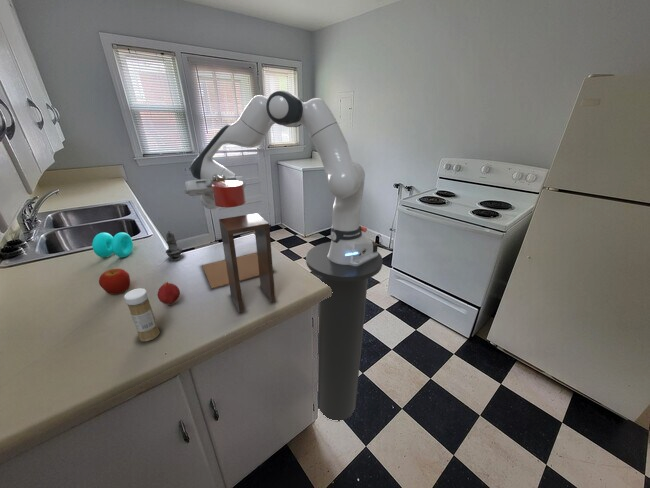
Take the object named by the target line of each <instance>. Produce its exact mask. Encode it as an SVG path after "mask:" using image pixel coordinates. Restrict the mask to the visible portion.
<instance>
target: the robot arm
mask: <svg viewBox="0 0 650 488" xmlns="http://www.w3.org/2000/svg"><path fill="white" fill-rule="evenodd" d="M274 124H277V125H279V126H283V127H285V128H298V127H300V126H303V127H304V129H305V130H306V132H307V135H308V136H309V138H310V140H311V142H312V143H313V145H314V147H315V150H316V152H317V154H318V156H319V158H320V160H321V163H322V166H323V171H324V172H325V177H326V179H327V182H328V185H327V186H328V189H329V192H330V193H331V194H332V195H333V196H334V201H333V205H332V216H331V217H332V218H331V219H332V220H331V223H332V224H331V226H330V240H331V241H330V242H331V245H330V250H329V253H328V259H329V260H330V261H332V262H334V263H337V264H342V265H351V266H359V265H361V264H363V263H365V262H367V261H369V260H371V259H373V258H375V257H377V256H378V253H379V251H378V249H379V247H378V244H377V243H376V242H375V241H372V240H371V239H370V238H368V237H367V236H366V235H365V234H363V233H367V231H368V228H367V227H365V226H361V225H360V222H361V221H360V220H361V207H362V203H363V202H362V201H363V195H364V187H365V180H366V173H365V172H366V171H365V169H364V167H363V166H362V165H361V164H360V163H358V162H355V161H353V159H352V156H351V152H350V150H349V144H348V142H347V140H346V137H345V135H344V134H343V132H342V129H341V127H340V125H339V123H338V121H337V119H336V117H335V115H334V113H333V112H332V110H331V109H330V107H329V105H328V104H327V103H326V102H325V100H324V99H322V98H320V97H313V98H311V99H309V100H307V101H304V100H303V99H302V98H300V97H299V96H297V95H296V94H295V93H292V92H289V91H286V90H276V91H274V92H272V93H271V94H270V95H269V96H268V97H267V96H265V95H262V94H257V95H255V96H253V97H252V98H251V100H249V102H248V103H247V105H246V106H245V108H244V109H243V111H242V112H241V114H240V116H239V117H238V119H237V120H236V121H235V122H234V123H232V124H230V123H226V124H225V125H224V126H222V127H221V128H220V129H219V131H217V133H216V134H215V135H214V136H213V137H212V139H211V140H210V141H209V143H207V145H206V146H205V148H204V149H203V150H202V151H201V153H199V154H198V155H197V156H196V157H195V158H194V159H193V160H192V161H191V164H190V167H189V170H190V173H191V175H192V177H193V178H195V179H193V180H192V179H190V180H186V181H185V182H184V187H185V189H184V194H186V195H188V196H189V197H198V196H200V197H199V199H200V203H201V205H202V206H203V207H204V208H206V209H207V210H216V209H218V208H219V207H218V206H216V205H215V202H214V196H213V190H212V184H213V183H216V180H215V176H213V175H214V174H218V175H220V176H221V177H222V178H224V179H225V180H226V181H241V182H243V185H244V189H245V188H246V186H247V183H246V179H245V176H243V175H238V176H237V173H234V172H233V171H232V170H230V169H228V168H227V167H225V166H224V165H222V164H220V163H218V162H217V161H216V160H214V159H213V157H214V156H215V155H216V154H217V152H218V151H219V150H220V149H221V147H222V146H223V145H234V146H237V147H241V148H247V149H248V148H249V149H251V148H256V147H258V146H260V144H261V143H262V142H263V141H264V139H265V138H266V136H267V134H268V133H269V131H270V129H271V128H272V126H273V125H274Z"/></svg>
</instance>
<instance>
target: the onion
mask: <svg viewBox="0 0 650 488" xmlns="http://www.w3.org/2000/svg"><path fill="white" fill-rule="evenodd" d="M156 296H157V298H158V300H159V302H160V303H162V304H165V305H170V306H171V305H174V304H175V303H176V302H177V301H178V299H179V298H180V296H181V290H180V288H179V287H178V286H177V285H176V284H175V283H170V282H169V281H165V282H164V283H163V284H162V285H161V286H160V287H159V288H158V291H157V295H156Z"/></svg>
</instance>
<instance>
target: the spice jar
mask: <svg viewBox="0 0 650 488" xmlns="http://www.w3.org/2000/svg"><path fill="white" fill-rule="evenodd" d="M123 299H124V301H125V304H126V305H127V306H128V310H129V312H130V316H131V318H132V321H133V324H134V327H135V330H136V331H137V334H138V336H139V340H140V342H150V341H153V340H154V339H157V338H158V337H159V334H160V331H161V330H160V329H159V327H158V324H157V319H156V317H155V313H154V312H153V309H152V306H151V302H150V300H149V294H148V291H147V289H145V288H140V287H139V288H135V289H132V290H129V291H128V292H126V293H125V294H124V296H123Z"/></svg>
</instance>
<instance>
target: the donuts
mask: <svg viewBox="0 0 650 488" xmlns="http://www.w3.org/2000/svg"><path fill="white" fill-rule="evenodd" d="M91 246H92V250H93V252H94V254H95V255H96V256H97V257H99V258H108V257H110V256H113V254H114V255H115V256H117V257H119V258H126V257H128V256H129V255H130V254H131V253H132V251H133V249H134V242H133V238H132V237H131V236H130V234H128V233H127V232H123V231H121V232H118V233H116V234H115V235H114V236H113V235H112V234H110V233H109V232H100V233H97V234H96V235H95V236H94V238H93V239H92V243H91Z"/></svg>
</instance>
